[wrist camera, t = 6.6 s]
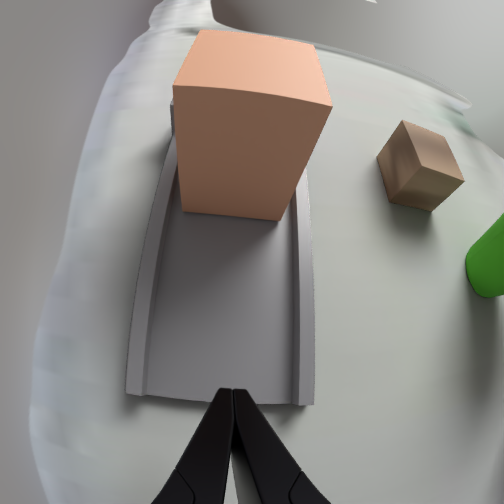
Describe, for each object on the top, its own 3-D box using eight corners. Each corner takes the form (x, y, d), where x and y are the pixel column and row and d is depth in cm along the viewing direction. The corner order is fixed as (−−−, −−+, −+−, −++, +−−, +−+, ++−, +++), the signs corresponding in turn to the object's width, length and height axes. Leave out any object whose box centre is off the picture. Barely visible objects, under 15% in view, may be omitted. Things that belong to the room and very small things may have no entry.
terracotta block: (280, 221, 18) (332, 106, 10) (182, 211, 17) (172, 85, 9) (278, 151, 20) (313, 45, 12) (196, 141, 20) (200, 29, 11)
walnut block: (431, 212, 22) (464, 181, 18) (388, 202, 21) (421, 165, 17) (417, 169, 24) (444, 136, 20) (376, 157, 23) (402, 119, 19)
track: (308, 401, 15) (336, 407, 11) (128, 389, 13) (105, 393, 10) (298, 135, 23) (311, 101, 19) (179, 121, 22) (178, 85, 18)
